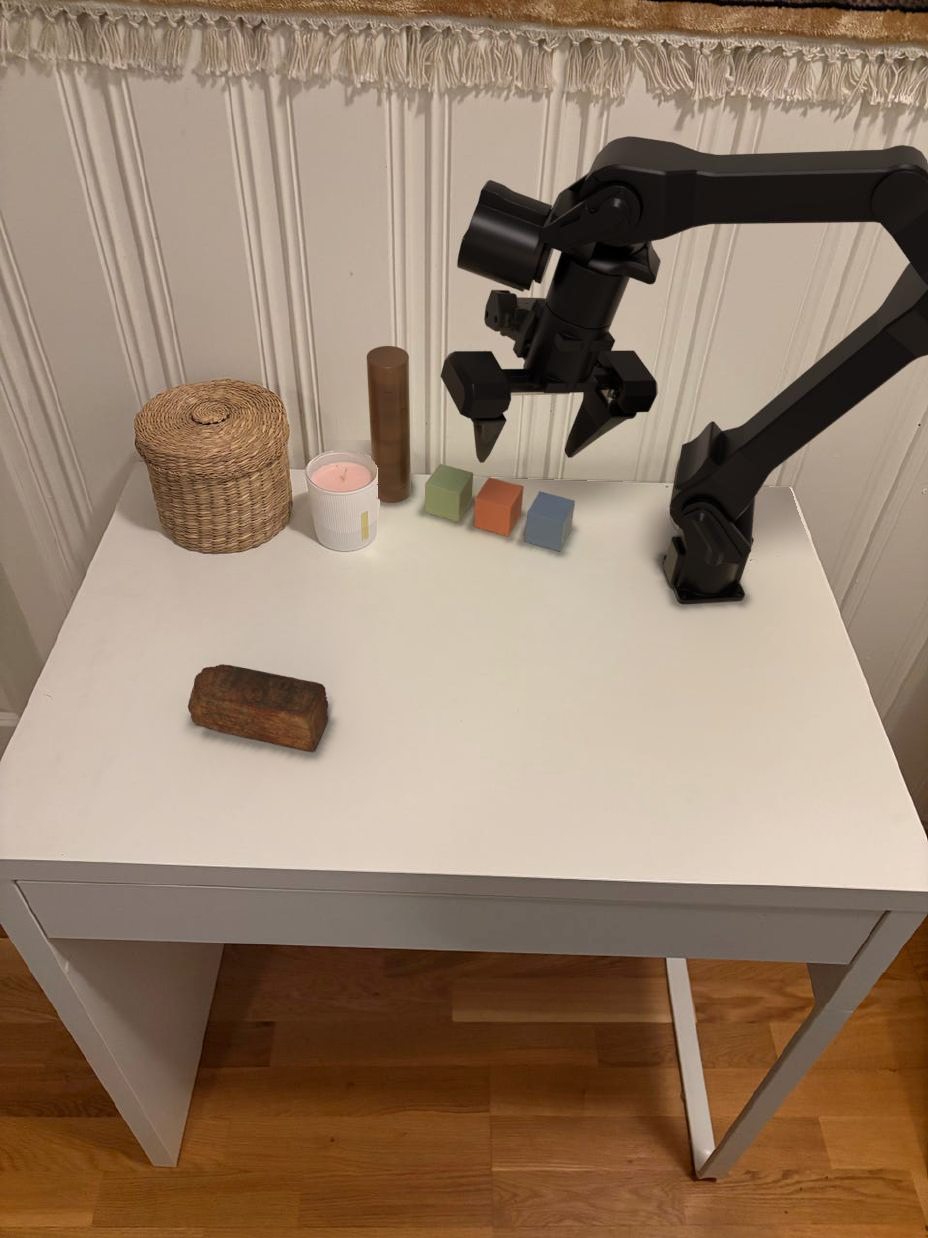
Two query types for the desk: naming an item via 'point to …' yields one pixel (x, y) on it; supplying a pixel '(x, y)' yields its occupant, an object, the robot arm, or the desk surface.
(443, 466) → the colored block line
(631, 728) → the desk surface
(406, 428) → the walnut cylinder
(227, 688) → the brick
